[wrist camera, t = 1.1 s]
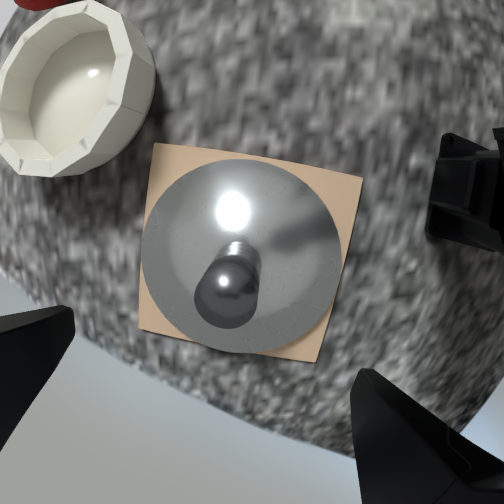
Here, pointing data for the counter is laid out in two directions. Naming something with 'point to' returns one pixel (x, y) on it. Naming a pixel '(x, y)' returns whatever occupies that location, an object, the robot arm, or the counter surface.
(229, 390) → the counter surface
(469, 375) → the counter surface
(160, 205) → the lid
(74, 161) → the bowl
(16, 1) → the onion
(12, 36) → the counter surface
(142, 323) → the mat
